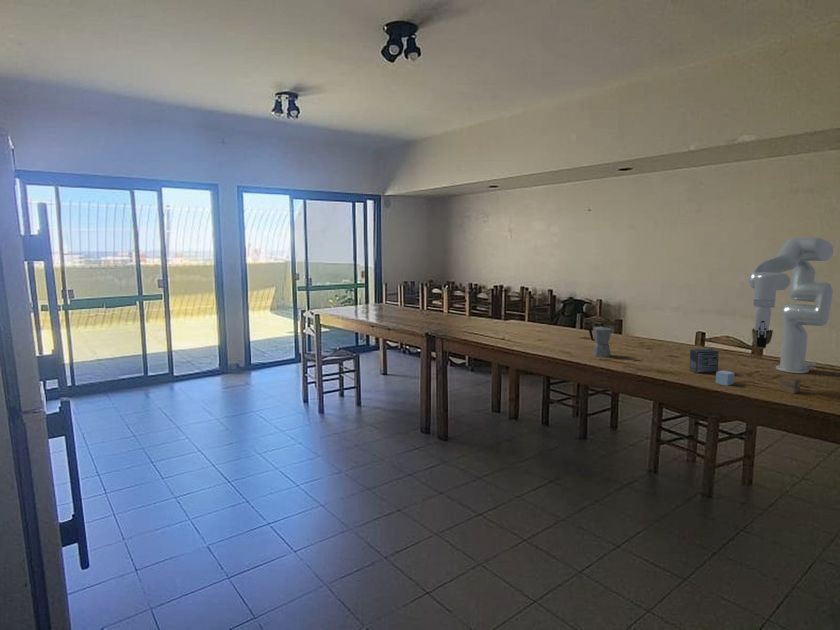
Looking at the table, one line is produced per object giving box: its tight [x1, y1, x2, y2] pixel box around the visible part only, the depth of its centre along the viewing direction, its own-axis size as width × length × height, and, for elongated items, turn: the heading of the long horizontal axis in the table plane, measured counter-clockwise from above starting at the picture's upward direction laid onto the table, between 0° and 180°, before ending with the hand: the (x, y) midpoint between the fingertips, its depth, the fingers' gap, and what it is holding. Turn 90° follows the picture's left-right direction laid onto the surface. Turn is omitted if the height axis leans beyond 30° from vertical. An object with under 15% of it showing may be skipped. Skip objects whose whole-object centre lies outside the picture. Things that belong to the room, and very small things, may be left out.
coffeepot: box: [588, 322, 614, 358], centre depth 280 cm, size 15×9×18 cm, turn 33°
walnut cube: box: [779, 376, 801, 394], centre depth 208 cm, size 5×5×5 cm
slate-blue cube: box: [715, 369, 736, 386], centre depth 221 cm, size 5×5×5 cm
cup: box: [751, 328, 774, 350], centre depth 215 cm, size 8×7×8 cm
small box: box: [689, 348, 719, 374], centre depth 241 cm, size 11×6×10 cm, turn 92°
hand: (761, 344), depth 215 cm, fingers closed on cup, 6 cm apart
